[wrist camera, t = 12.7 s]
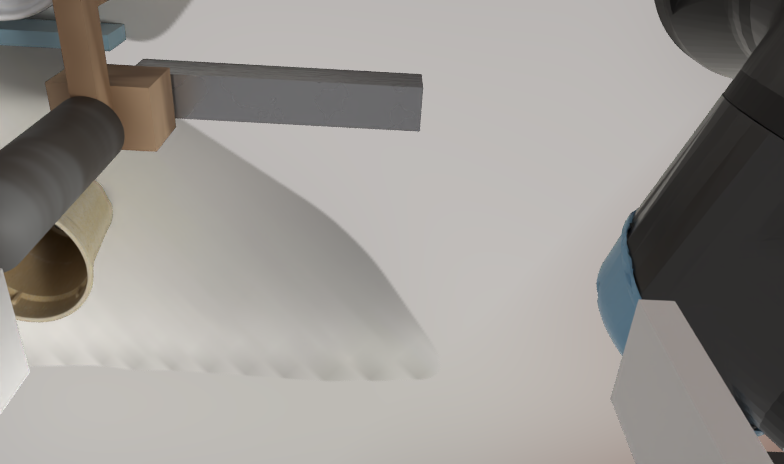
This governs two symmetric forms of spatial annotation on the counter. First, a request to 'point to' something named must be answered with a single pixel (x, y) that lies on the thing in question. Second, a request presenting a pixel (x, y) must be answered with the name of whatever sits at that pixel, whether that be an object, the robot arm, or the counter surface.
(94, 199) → the flower pot
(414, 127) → the rail
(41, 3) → the ramekin
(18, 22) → the frame
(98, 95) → the pusher
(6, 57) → the counter surface
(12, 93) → the counter surface
